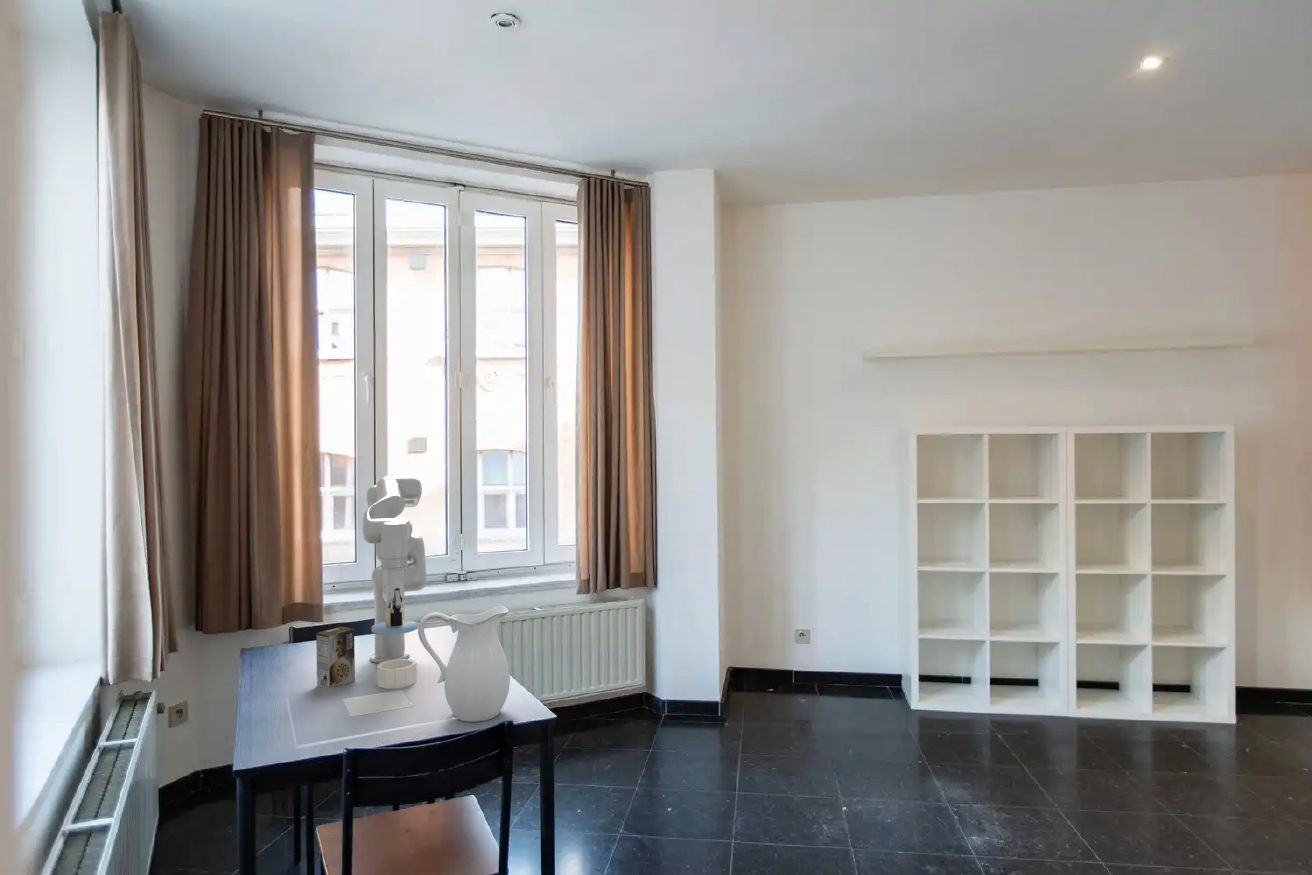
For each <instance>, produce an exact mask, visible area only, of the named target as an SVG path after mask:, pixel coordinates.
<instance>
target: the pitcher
mask: <svg viewBox="0 0 1312 875" xmlns="http://www.w3.org/2000/svg"><path fill="white" fill-rule="evenodd" d="M508 614H509V609H508V608H507V607H506V606H504V605H497V606H495V607H492V608H490V609H488V610H486V611H482V612H479V613H475V614H471V613H470V614H469V613H468V614H467V613H457V614H453V615H451V616H449V615H447V614H445V613H442V612H430V613H428V614H426V615H425V616H423V617H422V618H421V620H420V622H419V624H418V626H417V633H418V638H419V641H420V642H421V644H422V646H423V647H424V649H425V650H426V651H427V652H428V653H429V655H430V656H431V657H432V659H433V660H434V661H435V662H436V665H437V666H438V667H439V671H440V675H439V678H438V680H437V682H436V683H437V684H440V683H443V682H444V693H445V699H446V702H447V705H448V706H449V709H450V710H451V712H452V714H453V715H454V717H455V718H456V719H458V720H460V721H462V722H472V723H474V722H476V723H478V722H484V721H487V720H488V721H489V720H492V719H494V718H495V717H497V716H498V715H499V714H500V712H501V710H502V709H503V708H504V705H505V703H506V701H507V698H508V695H509V692H510V691H509V690H510V685H511V683H510V681H511V674H510V668H509V663H508V659H507V657H506V653H505V651H504V649H503V646H502V644H501V641H500V639H499V636H498V625H499V623H500V622H501V621H502V619H503V618H504V617H505V616H507V615H508ZM436 619H437V620H441V621H443V622H445V623H446V624H447V625H449V626H450V628H451V632H452V633H453V634H456V632H457V636H456V641H455V643H454V646H453V648H452V651H451V653H450V656H449V658H448V662H447V665H446V664H445V663H444V661H443V660H442V659H441V658H440V657H439V654H438V653H436V652H435V650H434V649H433V647H432V646H431V644H430V643H429V642H428V639H427V637H426V634H425V627H426V625H427V623H428V622H429V621H431V620H436Z"/></svg>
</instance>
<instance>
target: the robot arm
mask: <svg viewBox="0 0 1312 875" xmlns="http://www.w3.org/2000/svg"><path fill="white" fill-rule="evenodd" d="M422 491H423V488H422V483H421V480H420V478H419V477H417V476H415V475H387V476H383V477H381V478H380V479H379V480H378V481H377V483H376V484H374V485H371V486H370V487H369V488H368V489H367V491H366V503H367V507H368V508H367V509H366V510H365V511H364V514H363V517H362V535H363V536H362V537H363V539H364V541H365V542H366V543H367V544H374V545H375V555H376V558H377V560H378V562H380V565H379V566H377V567H375V568H374V569H373V571H372V572H371V573H372V574H371V585H372V590H373V598H374V599H373V600H374V601H373V602H374V625H375V624H378V623H381V622H386V609H387V608H391V613H390V626H391V627H394V626H401V625H402V609H401V607H402V608H403V620H406V619H405V614H406V612H405V604H404V601H405V593H406V592H407V593H408V592H418V591H421V590H423V589H424V588H425V587H426V584H427V568H426V565H427V564H426V549H425V542H424V539H423V537H422V536H421V535H420V534H418V533H413V524H412V523H411V521H410V520H409V519H408V518H404V517H398V516H400V515H401V514H402V513H403V511H404V510H405V508H415V507H417V506H418V505H419V502H420V500H421V497H422ZM405 634H406V633H404V634H397V635H379V634H374V653H372V654H371V655H370V656H369V660H370V661H371V662H372V663H375V664H380V663H382V662H385V661H389V660H396V659H409V658H410V652H409V651H407V650H405V648H406V646H405V645H406V644H405V643H406V641H405V638H406V636H405Z"/></svg>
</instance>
